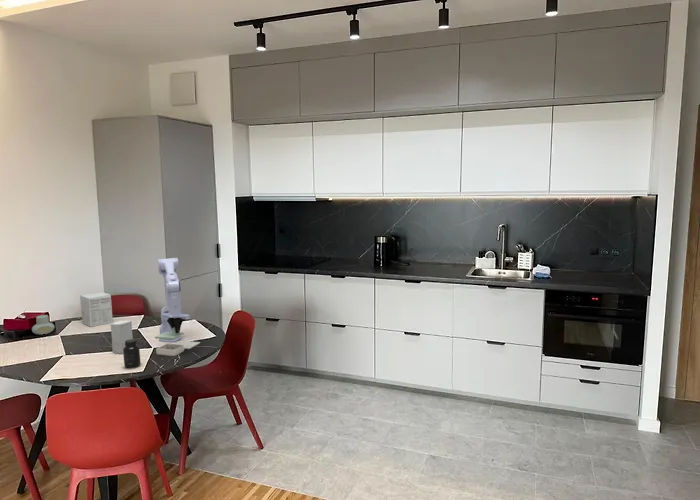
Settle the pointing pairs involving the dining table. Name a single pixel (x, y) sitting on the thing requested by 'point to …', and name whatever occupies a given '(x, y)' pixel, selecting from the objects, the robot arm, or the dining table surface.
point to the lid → (169, 335)
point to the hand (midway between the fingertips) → (176, 332)
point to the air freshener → (43, 325)
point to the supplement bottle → (131, 354)
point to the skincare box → (120, 335)
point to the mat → (187, 344)
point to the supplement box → (96, 309)
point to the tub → (170, 349)
